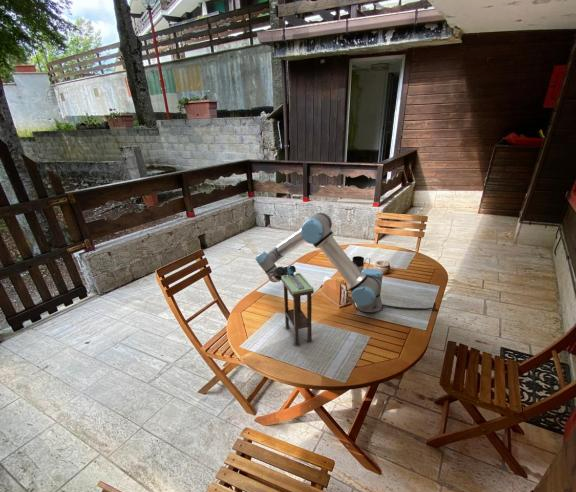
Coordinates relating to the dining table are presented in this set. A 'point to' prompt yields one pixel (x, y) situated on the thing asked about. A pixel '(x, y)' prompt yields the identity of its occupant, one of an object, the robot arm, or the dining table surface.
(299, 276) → the tray
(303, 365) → the dining table surface
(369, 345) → the dining table surface
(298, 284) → the blue grooved block
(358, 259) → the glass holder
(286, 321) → the stand
